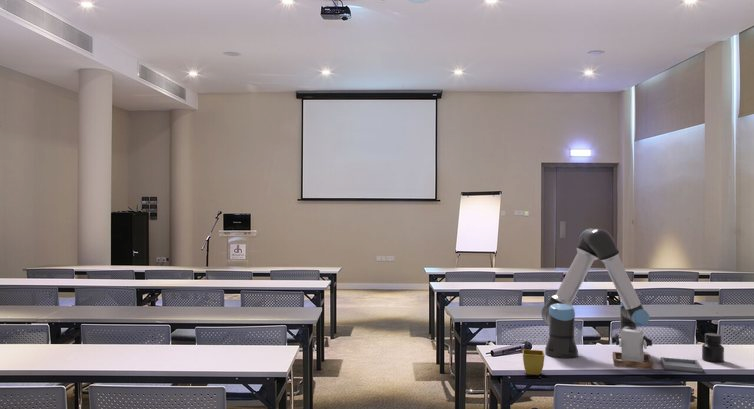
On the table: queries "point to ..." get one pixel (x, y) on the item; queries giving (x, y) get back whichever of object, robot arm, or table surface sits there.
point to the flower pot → (533, 361)
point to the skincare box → (632, 345)
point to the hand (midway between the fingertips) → (633, 345)
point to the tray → (681, 365)
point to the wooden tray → (632, 363)
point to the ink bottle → (713, 348)
